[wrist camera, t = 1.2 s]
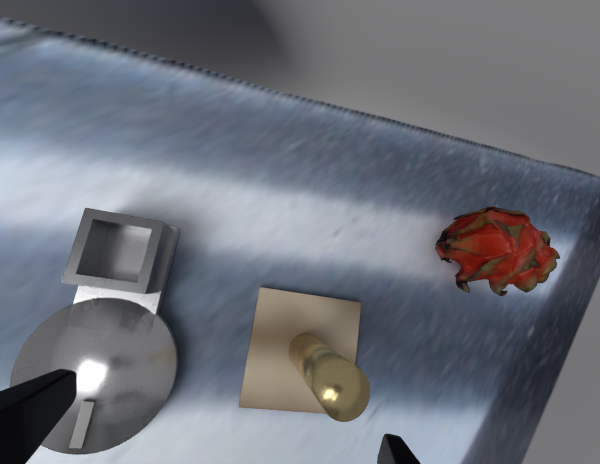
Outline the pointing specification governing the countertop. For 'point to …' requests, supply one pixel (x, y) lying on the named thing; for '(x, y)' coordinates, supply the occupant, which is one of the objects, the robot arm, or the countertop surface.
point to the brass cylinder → (330, 378)
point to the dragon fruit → (498, 250)
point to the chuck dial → (109, 333)
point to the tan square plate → (277, 338)
